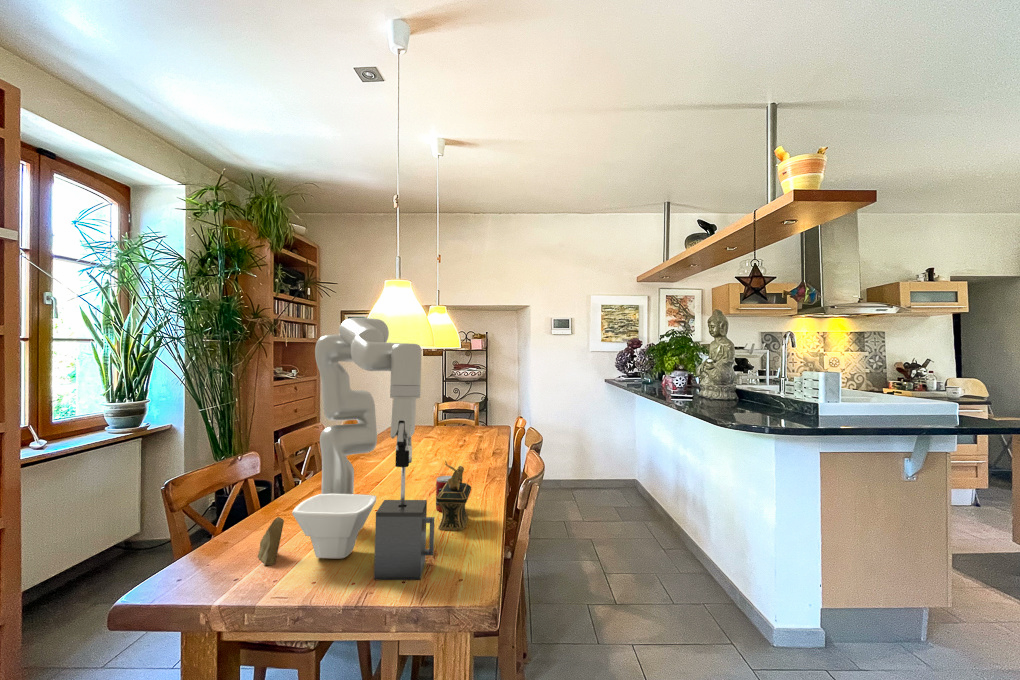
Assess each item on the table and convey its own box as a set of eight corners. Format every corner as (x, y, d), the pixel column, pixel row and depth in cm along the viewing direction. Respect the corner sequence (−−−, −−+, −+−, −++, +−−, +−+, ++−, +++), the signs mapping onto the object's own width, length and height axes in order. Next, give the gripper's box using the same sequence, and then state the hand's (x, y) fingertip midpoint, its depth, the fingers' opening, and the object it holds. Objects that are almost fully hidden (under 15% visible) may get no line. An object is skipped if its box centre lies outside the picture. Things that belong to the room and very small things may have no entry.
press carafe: (374, 580, 123) (375, 512, 124) (382, 561, 134) (384, 499, 135) (430, 579, 124) (432, 512, 124) (434, 561, 135) (436, 500, 135)
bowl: (313, 541, 148) (315, 492, 148) (380, 543, 147) (382, 494, 147) (283, 568, 129) (284, 512, 129) (359, 571, 128) (361, 514, 129)
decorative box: (442, 515, 175) (443, 456, 175) (470, 516, 174) (472, 457, 175) (432, 535, 155) (434, 469, 155) (464, 536, 154) (465, 470, 155)
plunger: (380, 534, 125) (382, 449, 125) (387, 522, 134) (389, 442, 134) (417, 534, 125) (419, 449, 126) (422, 522, 134) (424, 443, 135)
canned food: (431, 511, 179) (432, 479, 179) (443, 505, 186) (443, 474, 187) (451, 514, 176) (451, 481, 177) (461, 508, 184) (462, 476, 184)
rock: (283, 557, 130) (300, 538, 140) (262, 531, 129) (280, 514, 139) (250, 581, 131) (269, 560, 141) (229, 555, 130) (249, 536, 140)
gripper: (396, 389, 139) (394, 458, 138) (384, 394, 122) (382, 472, 121) (424, 390, 139) (422, 458, 138) (416, 394, 122) (414, 472, 122)
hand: (403, 464), depth 130 cm, fingers closed on plunger, 4 cm apart
